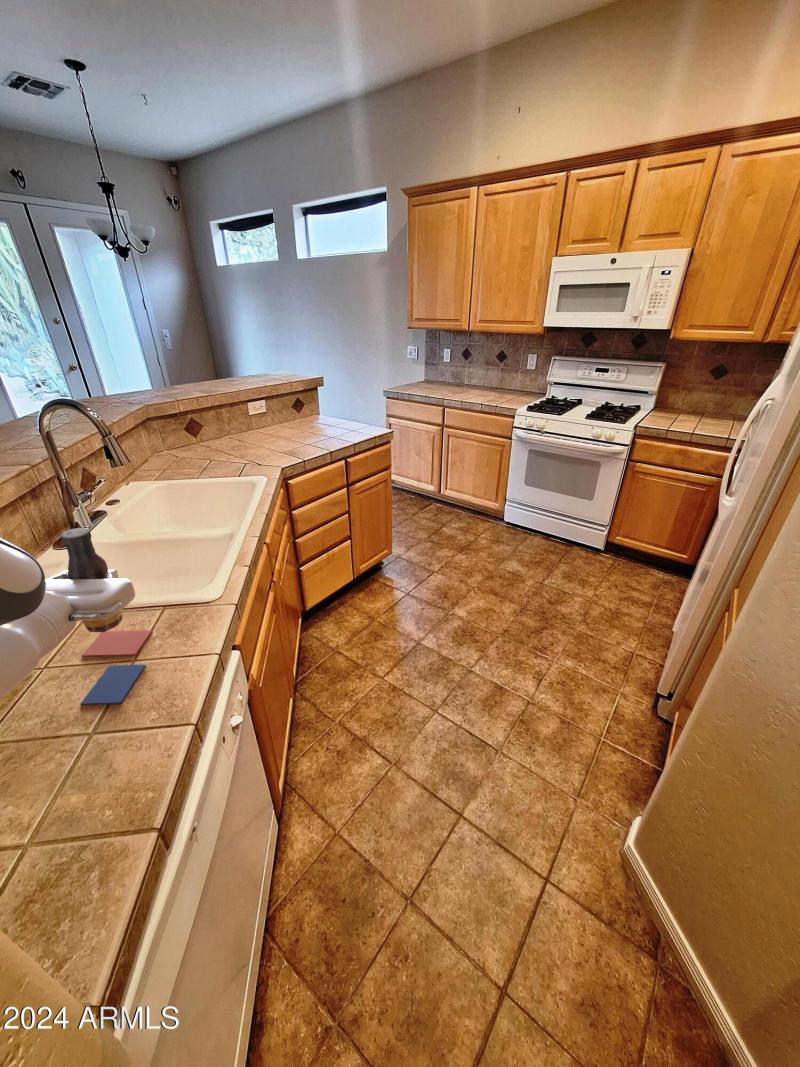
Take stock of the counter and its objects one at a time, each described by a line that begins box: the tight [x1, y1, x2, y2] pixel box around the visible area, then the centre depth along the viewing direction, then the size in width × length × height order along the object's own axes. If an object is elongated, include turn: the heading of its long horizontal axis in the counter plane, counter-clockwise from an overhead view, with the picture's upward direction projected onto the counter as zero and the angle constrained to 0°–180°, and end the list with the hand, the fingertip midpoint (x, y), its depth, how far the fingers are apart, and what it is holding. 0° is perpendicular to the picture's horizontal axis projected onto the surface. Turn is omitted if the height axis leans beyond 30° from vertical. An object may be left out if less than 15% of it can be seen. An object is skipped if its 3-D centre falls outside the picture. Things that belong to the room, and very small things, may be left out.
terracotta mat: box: [81, 629, 153, 658], centre depth 86 cm, size 10×7×1 cm
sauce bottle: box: [61, 527, 123, 633], centre depth 78 cm, size 7×6×20 cm
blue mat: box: [80, 664, 147, 706], centre depth 76 cm, size 7×9×1 cm
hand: (92, 573), depth 78 cm, fingers closed on sauce bottle, 6 cm apart
